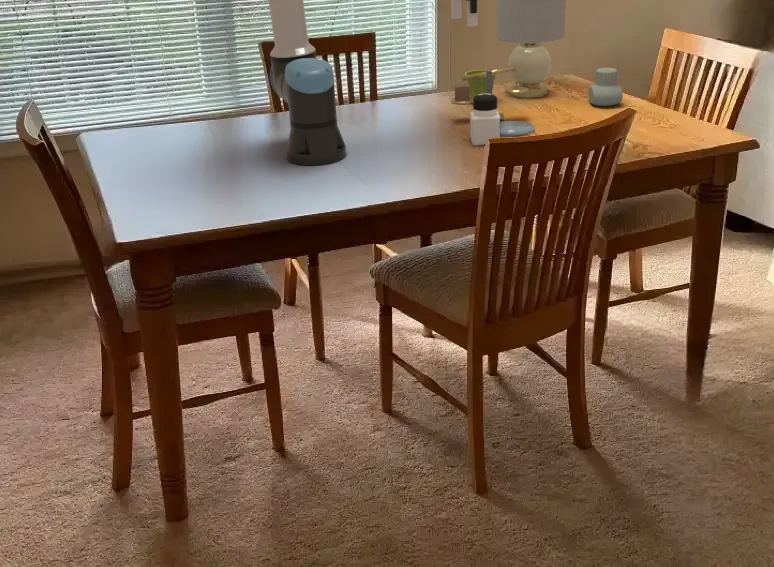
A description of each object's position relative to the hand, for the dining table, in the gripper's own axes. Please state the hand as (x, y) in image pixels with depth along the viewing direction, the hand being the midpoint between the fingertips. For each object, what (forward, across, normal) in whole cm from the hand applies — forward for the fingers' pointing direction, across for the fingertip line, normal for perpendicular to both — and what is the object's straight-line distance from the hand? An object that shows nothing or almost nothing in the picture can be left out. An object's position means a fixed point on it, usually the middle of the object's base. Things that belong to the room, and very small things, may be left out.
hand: (464, 22), depth 232 cm
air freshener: (+26, -2, -42) cm, 50 cm away
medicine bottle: (+27, -23, +2) cm, 35 cm away
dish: (+26, -16, -8) cm, 32 cm away
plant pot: (+27, +16, -10) cm, 33 cm away
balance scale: (+26, -4, -6) cm, 27 cm away
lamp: (+26, +19, -27) cm, 42 cm away
